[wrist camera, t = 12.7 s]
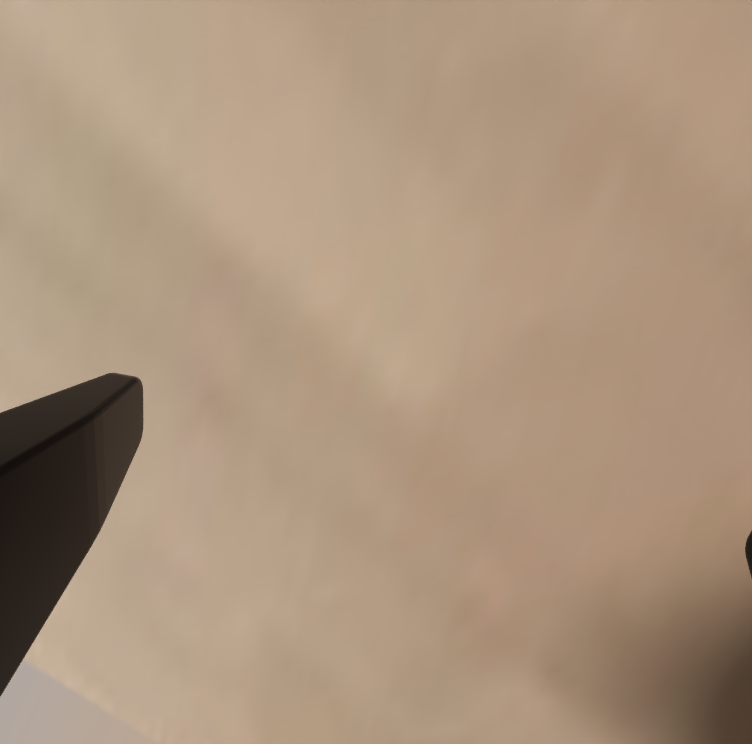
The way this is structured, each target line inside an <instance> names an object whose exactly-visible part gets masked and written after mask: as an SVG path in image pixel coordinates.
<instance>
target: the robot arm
mask: <svg viewBox="0 0 752 744" xmlns="http://www.w3.org/2000/svg"><path fill="white" fill-rule="evenodd" d="M142 433H143V386H142V382H141V380H140V379H139V378H137V377H134V376H128V375H123V374H118V373H109V374H106V375H103V376H100V377H97V378H95V379H92V380H89V381H86V382H84V383H81V384H78V385H76V386H73V387H70V388H67V389H65V390H62V391H59V392H56V393H54V394H51V395H48V396H45V397H43V398H40V399H37V400H34V401H32V402H29V403H26V404H23V405H21V406H18V407H15V408H12V409H10V410H7V411H4V412H1V413H0V696H1V695H2V693H3V691H4V689H5V688H6V686H7V685H8V683H9V681H10V680H11V678H12V676H13V675H14V673H15V672H16V670H17V668H18V667H19V665H20V663H21V662H22V660H23V658H24V657H25V655H26V653H27V652H28V650H29V648H30V647H31V645H32V643H33V642H34V640H35V639H36V637H37V635H38V634H39V632H40V630H41V629H42V627H43V625H44V624H45V622H46V620H47V619H48V617H49V615H50V614H51V612H52V610H53V609H54V607H55V605H56V604H57V602H58V600H59V599H60V597H61V596H62V594H63V592H64V591H65V589H66V587H67V586H68V584H69V582H70V581H71V579H72V577H73V576H74V574H75V572H76V571H77V569H78V567H79V566H80V564H81V562H82V561H83V559H84V558H85V556H86V554H87V553H88V551H89V549H90V548H91V546H92V544H93V542H94V541H95V539H96V537H97V535H98V534H99V532H100V530H101V528H102V526H103V523H104V521H105V519H106V517H107V515H108V513H109V511H110V508H111V506H112V504H113V502H114V499H115V497H116V495H117V493H118V491H119V488H120V486H121V484H122V482H123V479H124V477H125V475H126V473H127V471H128V468H129V466H130V464H131V462H132V459H133V457H134V455H135V453H136V451H137V448H138V446H139V444H140V441H141V438H142ZM745 552H746V559H747V562H748V566H749V570H750V574H751V578H752V531H751V533H750V534H749V536H748V538H747V542H746V547H745Z"/></svg>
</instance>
